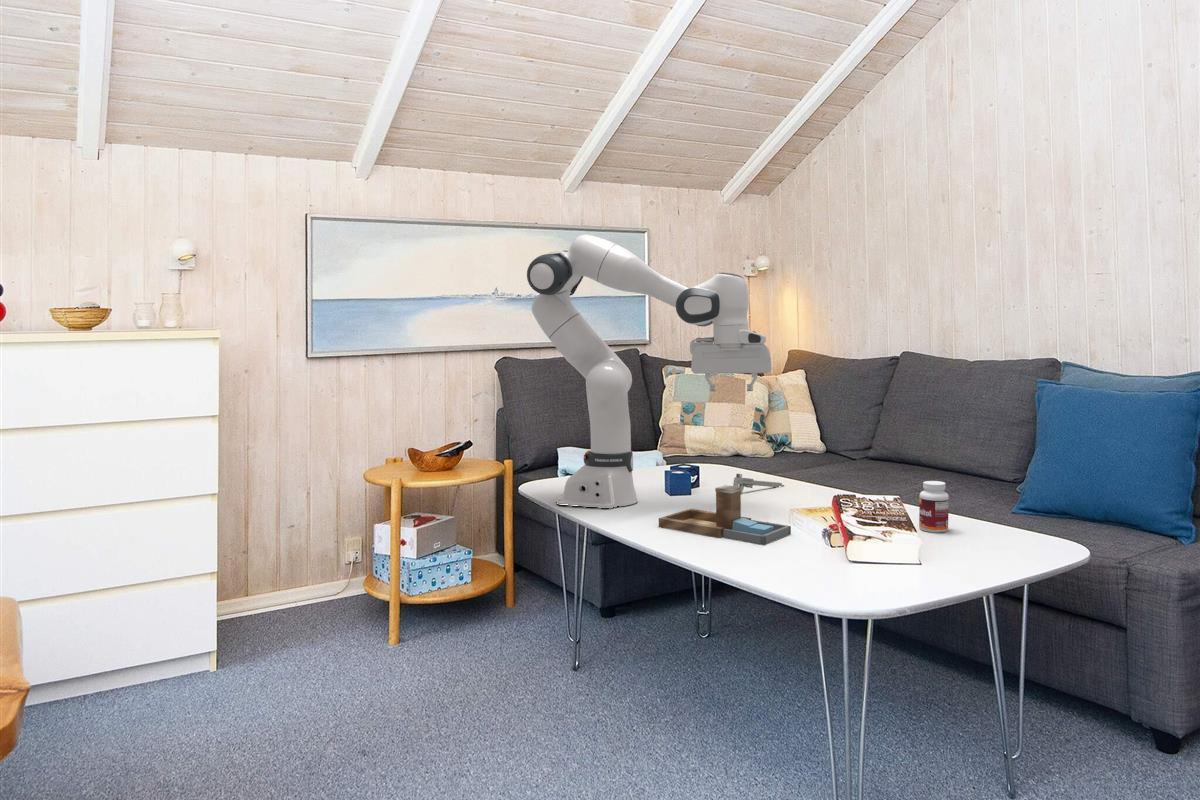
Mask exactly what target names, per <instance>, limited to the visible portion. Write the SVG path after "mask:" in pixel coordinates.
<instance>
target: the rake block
mask: <svg viewBox="0 0 1200 800" xmlns="http://www.w3.org/2000/svg"><path fill="white" fill-rule="evenodd" d="M714 489H715V512H716V526H717V527H723V528H724V529H729V530H732V525H733V521H735V520H738V519H740V518H741V517H742V515H741V514H742V513H741V511H742V510H741V509H742V507H741V504H742V503H741V502H742V500H741V499H742V497H741V495H742V494H741V487H739V486H738V487H737V486H733V485H727V484H724V485H720V486H717V487H715V488H714Z"/></svg>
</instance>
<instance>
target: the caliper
mask: <svg viewBox="0 0 1200 800" xmlns="http://www.w3.org/2000/svg"><path fill="white" fill-rule="evenodd" d="M732 484H733V485H732V486H737V487H741V495H742V493H743V491H744V488H750V489H752V488H753V486H755V487H756V486H757V487H768V488H769V487H770V488H780V487H779V486H782V487H785V485H784V484H783V483H782V482H776V481H768V480H767V481H766V480H755V479H754V478H748V477H743V474H742V473H736V475H735V477H734V478H733V483H732Z"/></svg>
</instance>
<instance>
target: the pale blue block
mask: <svg viewBox="0 0 1200 800" xmlns="http://www.w3.org/2000/svg"><path fill="white" fill-rule="evenodd" d="M751 520H752V519H751ZM751 520H748V519H745V518H740V519H738V520H735V521H733V525H732V530H735V531H741V532H747V533H748V527H750V526H753V525H755V524H758V522H755V521H751Z"/></svg>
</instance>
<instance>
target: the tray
mask: <svg viewBox="0 0 1200 800" xmlns="http://www.w3.org/2000/svg"><path fill="white" fill-rule="evenodd" d="M751 521H755V522H758V524H763V525H769V526H774V531H772V532H770V533H767V534H764V535H758V534H752V533H747V532H741V531H735V530H729V529H723V537H722V538H723V539H728V540H734V541H739V542H745V543H750V544H755V545H761V546H765V545H768V544H770V543H773V542H775V541H778V540H780V539H783V538H785V537H788V536H789V535H792V534H791V533H792V532H791V531H792V527H791V525H787V524H781V523H780V524H779V523H774V522H768V521H761V520H756V519H751Z"/></svg>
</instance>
